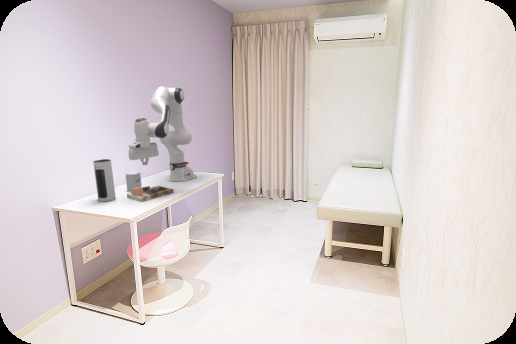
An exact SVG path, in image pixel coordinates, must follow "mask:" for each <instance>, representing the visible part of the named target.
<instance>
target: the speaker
mask: <svg viewBox="0 0 516 344" xmlns="http://www.w3.org/2000/svg"><path fill="white" fill-rule="evenodd" d="M92 163H93V171H94V178H95V185H96V192H97V193H96V194H97V200H98V201H99V203H100V202H102V203H105V202H111V201H114V200H116V191H115V190H116V188H115V182H114V174H113V168H112V167H113V165H112V160H111V159H110V158H109V159H108V158H103V159H97V160H93V161H92Z"/></svg>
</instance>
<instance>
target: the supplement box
mask: <svg viewBox="0 0 516 344" xmlns="http://www.w3.org/2000/svg"><path fill="white" fill-rule="evenodd" d="M141 175H142V174H141V172H140V171H131V172H128V173H126V174H125V181H126V191H127V192H129V193H132V188H135V187H142V188H143V186H142V177H141Z"/></svg>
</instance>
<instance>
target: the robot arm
mask: <svg viewBox="0 0 516 344" xmlns="http://www.w3.org/2000/svg"><path fill="white" fill-rule="evenodd" d="M184 98H185V92H184V90H183V89H182V88H181V87H165V86H164V85H163V86H162V85H161V86H159V87H157V88H156V90H155V91H154V93H153V95H152V98H151V100H150V107H151V108H152V110H154V111H155V112H156V113H159V114H161V118H160V121H158V122H150V121H148V119H147V118H144V117H143V118H137V119H135V120H134V122H133V123H134V125H133V128H134V136H135V141H133V142H131V143H130V144H128V148H129V149H128V159H129V160H130V161H136V160H140V161H141V163H142V166H148V165H149V160H150V158H155V157H158V156H159V154H160V153H159V152H160V151H159V149H158V143H156V142H151V139H150V138H158V139H159V142H160V143H161V144H162V145H164V147H165V148H166V149H167V151H168V155H169V169H170V171H169V172H170V173H169V178H168V179H169V181H171V182H187V181H189V180H193V179H195V178H197V177H198V175H196V174H194V170H193V169H192V168H190V167H189V166H188V165H189V161H185V153H184V151H183V150H182V149H180V148H179V147H178V146H183V145H184V146H185V145H189V144H190V143H191V142H192V135H191V133H190V131H188V129H186V127H185V125H184V121H183V106H182V105H183V104H182V102H183V101H184ZM169 125H170V126H171V127H172V128H174V130H169Z"/></svg>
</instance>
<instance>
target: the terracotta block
mask: <svg viewBox="0 0 516 344" xmlns="http://www.w3.org/2000/svg"><path fill="white" fill-rule="evenodd" d="M131 193H132V195H134V196H140V195H143V186H142V187H135V188H132V192H131Z"/></svg>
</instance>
